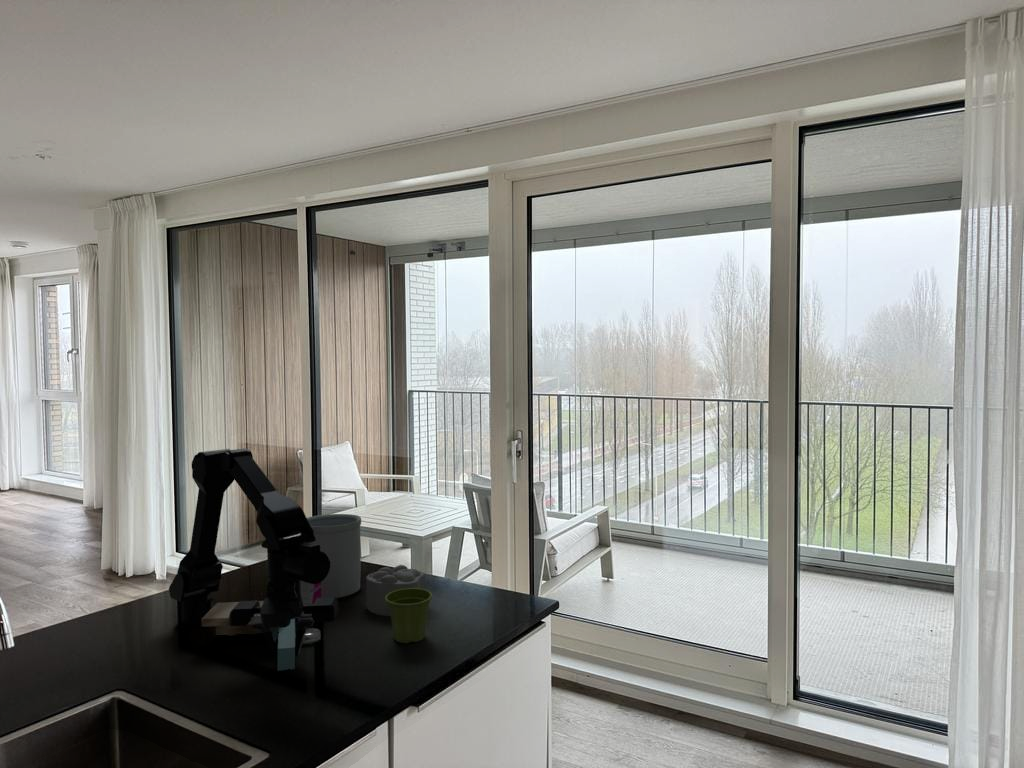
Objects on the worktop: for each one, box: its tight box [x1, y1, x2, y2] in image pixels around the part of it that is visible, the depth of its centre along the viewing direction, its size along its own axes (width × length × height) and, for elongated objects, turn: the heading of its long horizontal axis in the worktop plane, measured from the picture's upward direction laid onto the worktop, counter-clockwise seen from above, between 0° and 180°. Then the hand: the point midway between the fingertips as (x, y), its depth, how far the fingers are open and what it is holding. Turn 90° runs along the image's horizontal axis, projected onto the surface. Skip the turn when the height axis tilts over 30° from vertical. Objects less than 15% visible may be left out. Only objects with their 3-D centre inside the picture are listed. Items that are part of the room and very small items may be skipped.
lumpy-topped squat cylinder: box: [365, 564, 426, 617], centre depth 158 cm, size 10×13×9 cm
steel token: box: [295, 627, 322, 644], centre depth 140 cm, size 5×5×2 cm
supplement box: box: [295, 581, 321, 621], centre depth 153 cm, size 6×6×12 cm
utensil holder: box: [299, 513, 362, 599], centre depth 171 cm, size 15×15×18 cm
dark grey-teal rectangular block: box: [276, 618, 296, 672], centre depth 134 cm, size 3×17×4 cm, turn 17°
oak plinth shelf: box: [201, 600, 279, 636], centre depth 140 cm, size 15×9×6 cm, turn 95°
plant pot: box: [385, 588, 433, 644], centre depth 141 cm, size 9×9×9 cm
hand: (286, 656), depth 129 cm, fingers closed on dark grey-teal rectangular block, 3 cm apart
